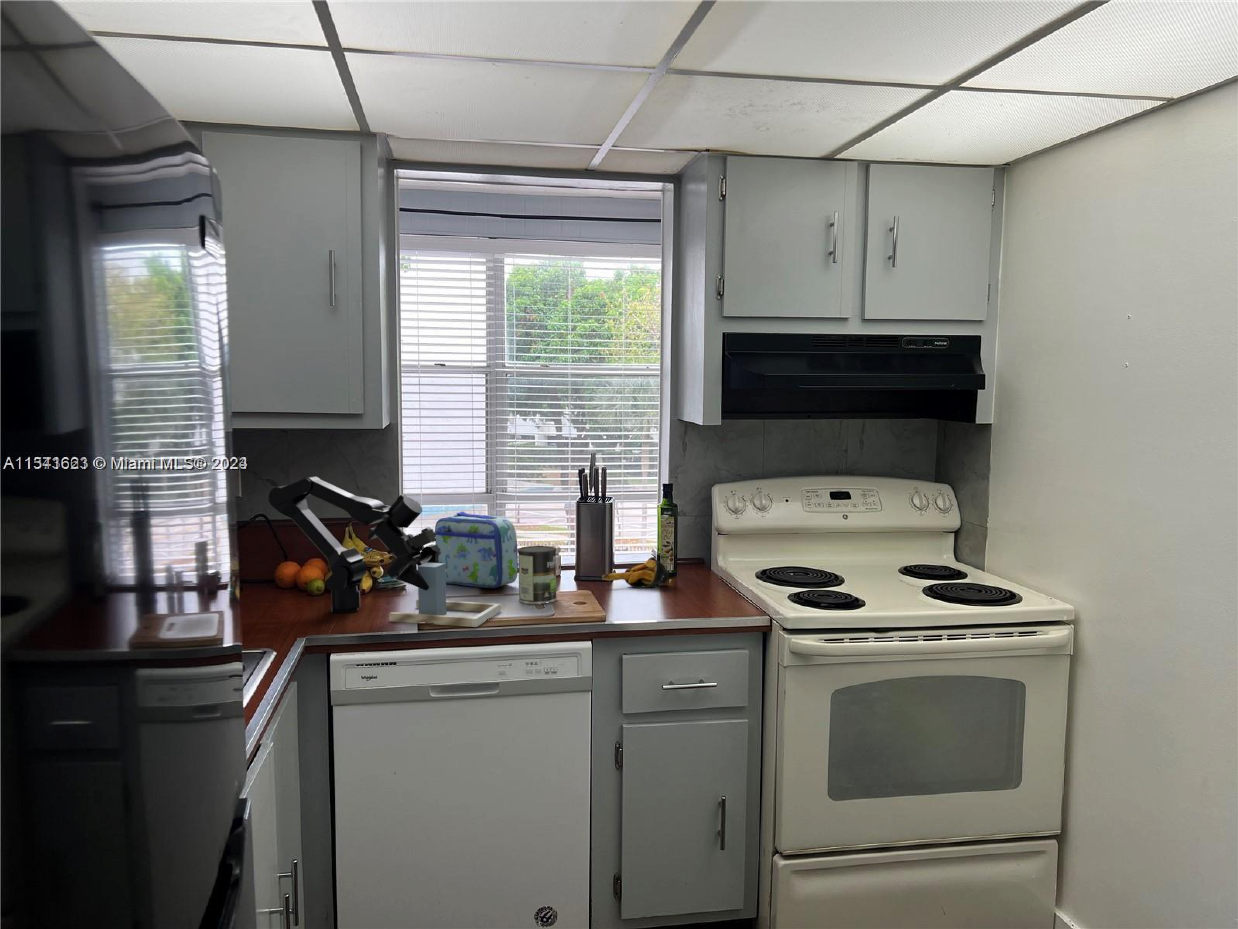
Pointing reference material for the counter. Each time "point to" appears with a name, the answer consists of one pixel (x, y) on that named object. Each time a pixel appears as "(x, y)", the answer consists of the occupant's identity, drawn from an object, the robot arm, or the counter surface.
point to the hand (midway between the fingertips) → (436, 585)
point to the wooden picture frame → (485, 608)
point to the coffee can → (537, 574)
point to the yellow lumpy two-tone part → (642, 574)
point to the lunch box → (477, 550)
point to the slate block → (433, 589)
